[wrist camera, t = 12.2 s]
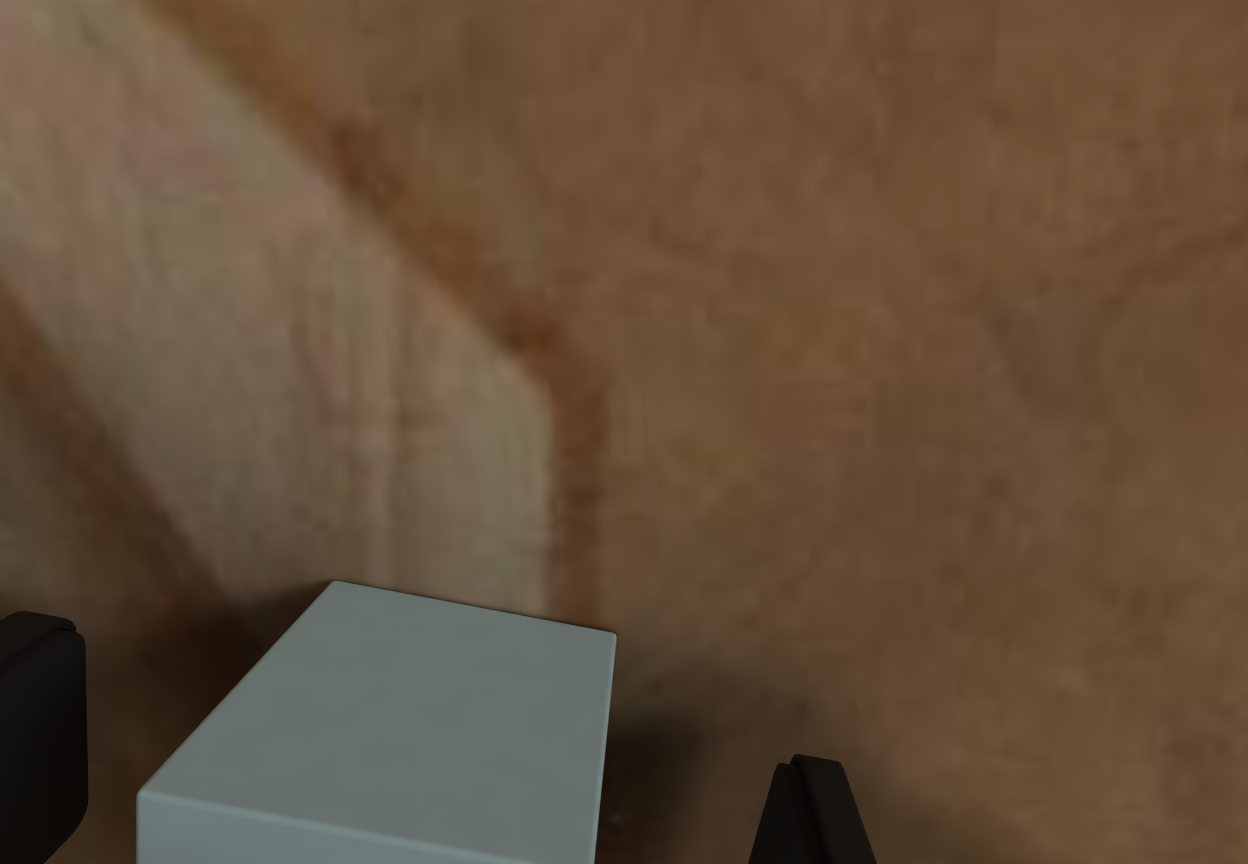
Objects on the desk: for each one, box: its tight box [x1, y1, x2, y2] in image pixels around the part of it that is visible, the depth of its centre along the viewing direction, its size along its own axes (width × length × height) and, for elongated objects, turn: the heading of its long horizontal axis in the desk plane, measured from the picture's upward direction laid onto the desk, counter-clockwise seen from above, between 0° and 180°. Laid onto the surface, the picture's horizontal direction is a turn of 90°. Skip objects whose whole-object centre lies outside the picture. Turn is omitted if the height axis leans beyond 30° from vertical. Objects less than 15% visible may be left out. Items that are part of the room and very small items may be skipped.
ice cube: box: [136, 581, 617, 864], centre depth 9 cm, size 4×4×4 cm
